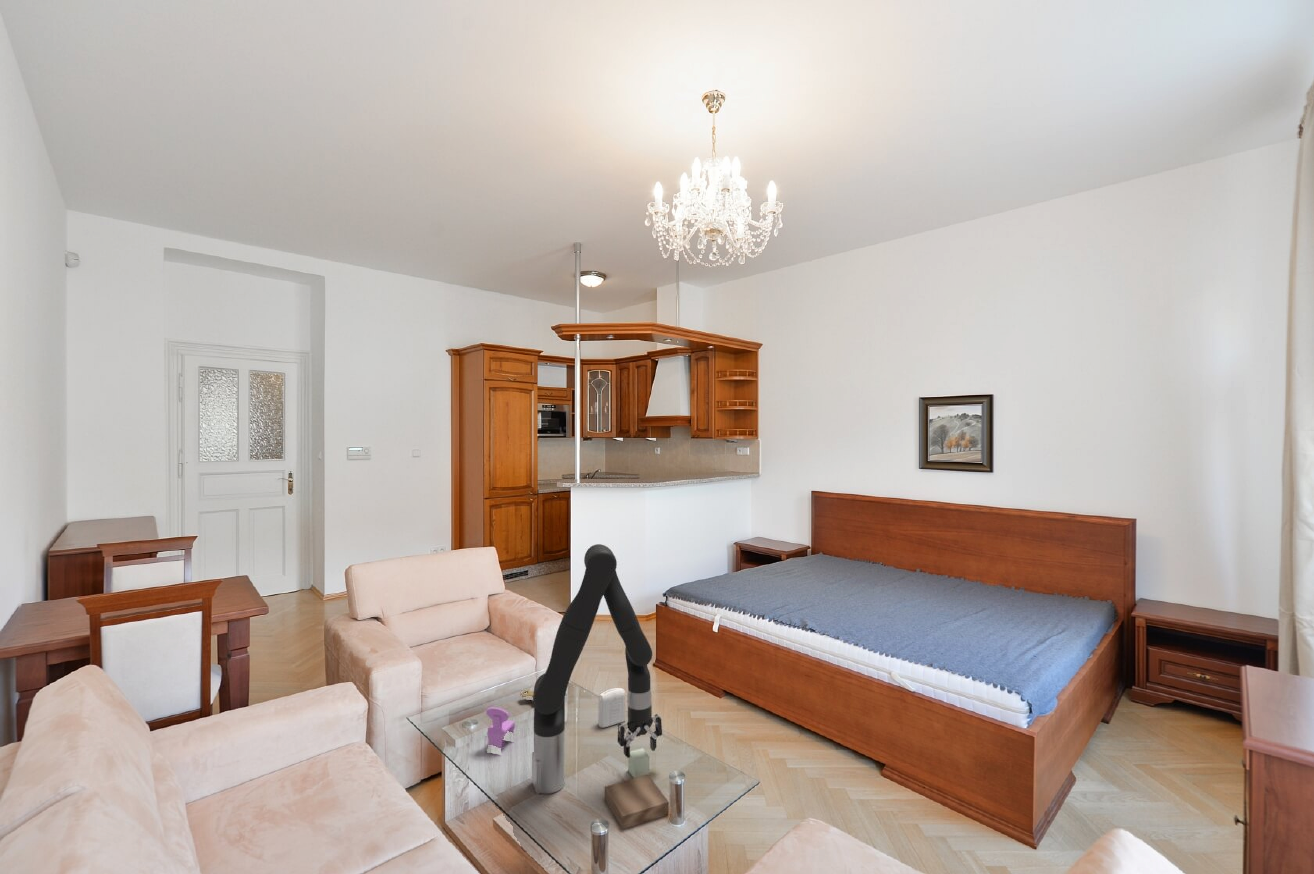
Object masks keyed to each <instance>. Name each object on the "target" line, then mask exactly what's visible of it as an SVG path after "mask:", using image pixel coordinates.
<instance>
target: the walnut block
mask: <svg viewBox="0 0 1314 874" xmlns="http://www.w3.org/2000/svg"><path fill="white" fill-rule="evenodd" d="M604 799H605V801H606V803H607V805H608V807H609V809H610V810H611V812H612V814H613V816H614V817H615V819H616V821H617V822H618V824H619V825H620V827H621V829H623V830H625V829H627V828H631V827H633V826H637V825H640V824H643V823H646V822H649V821H652V820H655V819H659V818H661V817H665V816H667V814H668V813H669V814H670V811H669V809H670V806H669V805H670V804H669V803H670V802H669V800H668V799H667V797H666V796H665V794H664V793H663V792H662V791H661V790H660V789H659V787H658V786H657V784H656V782H654V780H653V779H652V777H650V774H649V775H648V774H646V775H643V776H640V777H636V778H633V777H632V778H630V779H627V780H623V781H619V782H616V783H614V784H613V783H612V784H609V785H606V786H604ZM669 814H668V815H669Z"/></svg>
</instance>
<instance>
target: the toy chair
mask: <svg viewBox="0 0 1314 874" xmlns="http://www.w3.org/2000/svg"><path fill="white" fill-rule="evenodd" d="M485 713H486V715H487V717H489V718H490V719H491V720H492V724H491V725H490V726H489V727H488V728H487V732H486V733H487V738H488V745H493V746H496V747H498V748H501V749H502V744H503V742H504V741H503V739H504V736H505V734H506V733H507V731H509V732H512V733H513V734H514V730H515V727H516V724H515V721H512V720H508V719H509V717H510V714H509V712H508V711H507V710H505V709H503V708H500V707H495V706H491V707H488V708H487V709H486V712H485Z"/></svg>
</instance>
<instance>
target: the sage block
mask: <svg viewBox="0 0 1314 874" xmlns="http://www.w3.org/2000/svg"><path fill="white" fill-rule="evenodd" d="M627 765H628V767H627V769H628V772H629V774H630V775H631V777H632V779H633V778H636V777H640V776H643V775H646V774H648V775H649V776H650V755H649V754H648V752H646V751H645V749H644V748H643V747H641V748H639V749H638V748H637V749H635V750H630V758H627Z"/></svg>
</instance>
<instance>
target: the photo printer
mask: <svg viewBox="0 0 1314 874" xmlns="http://www.w3.org/2000/svg"><path fill="white" fill-rule="evenodd" d="M597 711H598V715H597V717H598V720H597V721H598V722H597V723H598V726H599V727H600V728H601V729H602V728H603V729H604V728H607V727H611V726H615V725H619V724H622V723H624V722H625V720H626V691H625V689H623V688H622V687H621V688H620V687H616V688H615V687H614V688H609V689H607V690H606V691H605V690H604V691H603V692H601V694H599V695H598V710H597Z"/></svg>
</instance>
